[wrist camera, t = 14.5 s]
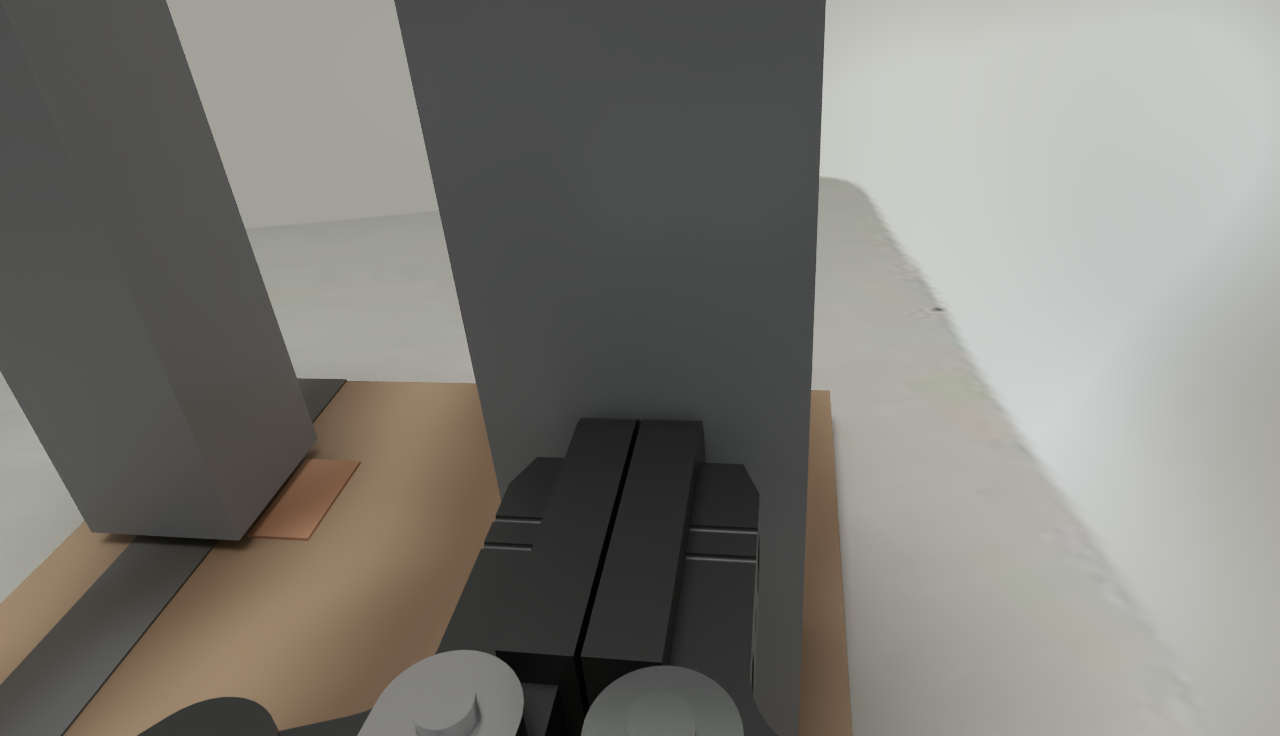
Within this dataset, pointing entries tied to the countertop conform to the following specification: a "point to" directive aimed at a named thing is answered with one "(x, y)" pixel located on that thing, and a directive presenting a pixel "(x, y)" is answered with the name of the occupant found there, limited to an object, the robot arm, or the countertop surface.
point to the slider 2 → (639, 238)
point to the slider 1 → (134, 280)
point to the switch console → (325, 582)
